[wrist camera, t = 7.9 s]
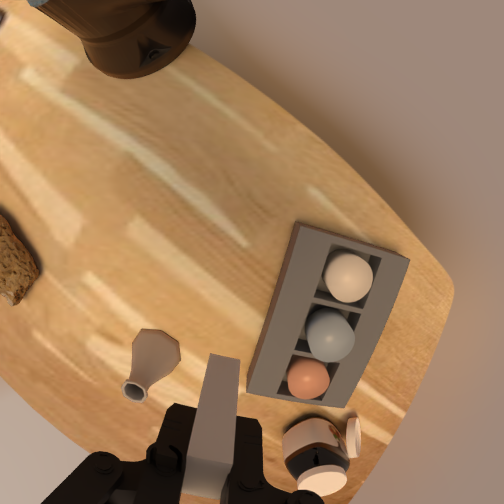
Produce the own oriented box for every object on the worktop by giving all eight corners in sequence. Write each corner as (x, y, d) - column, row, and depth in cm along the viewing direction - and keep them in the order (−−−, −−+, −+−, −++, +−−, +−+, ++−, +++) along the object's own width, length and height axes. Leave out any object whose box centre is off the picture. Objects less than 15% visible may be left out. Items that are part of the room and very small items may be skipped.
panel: (295, 221, 36) (300, 225, 33) (396, 252, 37) (410, 259, 33) (246, 375, 41) (246, 392, 37) (338, 391, 42) (344, 408, 38)
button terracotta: (292, 346, 39) (296, 363, 35) (329, 354, 39) (335, 370, 35) (280, 378, 40) (282, 395, 36) (315, 384, 40) (320, 401, 36)
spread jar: (273, 429, 43) (277, 485, 32) (329, 390, 42) (348, 445, 30) (318, 458, 45) (328, 507, 34) (370, 424, 44) (391, 472, 32)
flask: (186, 338, 40) (169, 380, 30) (175, 378, 41) (158, 423, 32) (137, 320, 39) (107, 357, 30) (129, 361, 41) (103, 401, 31)
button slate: (312, 303, 36) (319, 317, 32) (351, 312, 36) (361, 326, 32) (298, 341, 37) (303, 357, 33) (336, 348, 37) (344, 365, 33)
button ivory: (328, 244, 36) (337, 251, 32) (367, 255, 36) (379, 263, 32) (315, 285, 37) (321, 296, 33) (353, 294, 37) (363, 306, 33)
